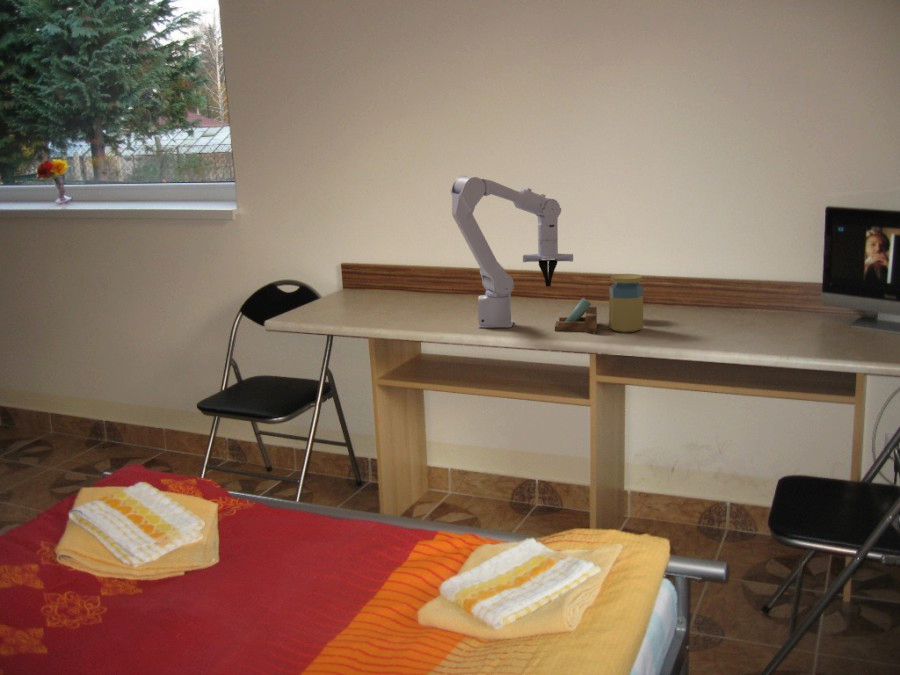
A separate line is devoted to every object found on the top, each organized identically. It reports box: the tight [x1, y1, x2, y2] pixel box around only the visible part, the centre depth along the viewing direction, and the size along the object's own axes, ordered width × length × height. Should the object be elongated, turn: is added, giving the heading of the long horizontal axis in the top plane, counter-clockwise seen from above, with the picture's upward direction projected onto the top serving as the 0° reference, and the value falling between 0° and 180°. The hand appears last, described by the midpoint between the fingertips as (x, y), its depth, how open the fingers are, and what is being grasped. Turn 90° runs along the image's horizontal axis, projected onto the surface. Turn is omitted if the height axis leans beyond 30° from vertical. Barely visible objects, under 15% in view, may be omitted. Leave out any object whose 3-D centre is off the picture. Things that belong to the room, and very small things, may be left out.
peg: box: [565, 297, 592, 322], centre depth 262 cm, size 3×3×8 cm
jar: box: [608, 273, 644, 334], centre depth 257 cm, size 9×9×15 cm
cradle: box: [554, 306, 598, 334], centre depth 262 cm, size 12×12×5 cm
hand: (548, 286), depth 273 cm, fingers closed
